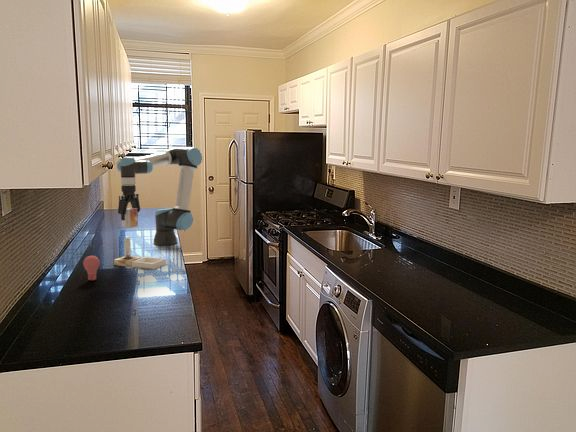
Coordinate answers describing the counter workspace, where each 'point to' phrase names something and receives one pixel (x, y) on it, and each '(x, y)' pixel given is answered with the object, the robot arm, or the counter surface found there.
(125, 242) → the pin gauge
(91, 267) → the light bulb
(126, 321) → the counter surface
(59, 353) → the counter surface
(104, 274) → the counter surface
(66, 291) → the counter surface
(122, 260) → the tan square ring
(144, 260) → the tray
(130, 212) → the small box
